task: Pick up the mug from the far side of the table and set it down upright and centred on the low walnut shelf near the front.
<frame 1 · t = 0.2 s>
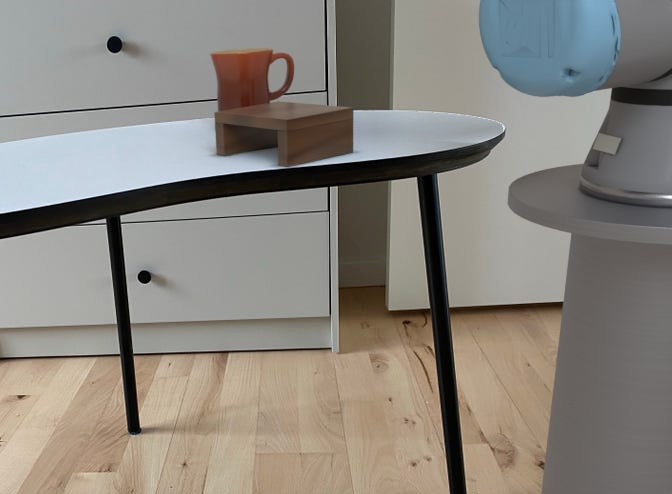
shelf: (283, 153, 98), on the table
mug: (255, 126, 120), on the table
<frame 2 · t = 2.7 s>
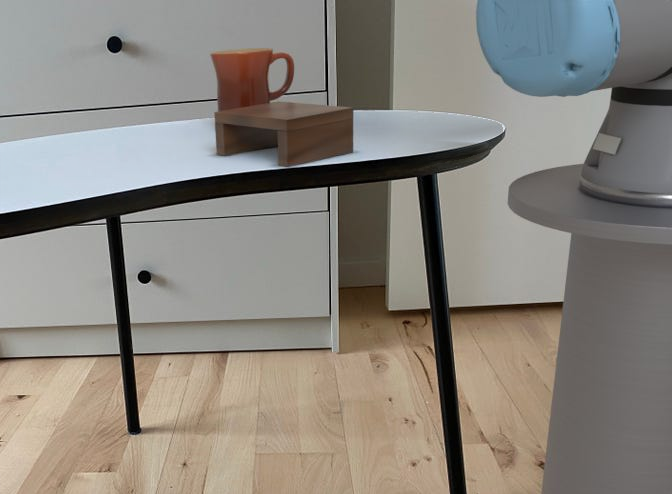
nothing on the table moved.
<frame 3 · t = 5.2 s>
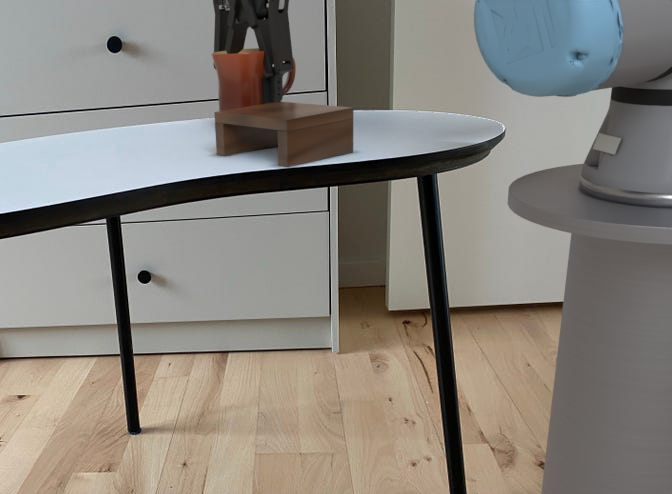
hand: (253, 122, 120), 0 cm above the table, tool pointing down, fingers closed on mug, 7 cm apart
mug: (256, 126, 120), on the table, touching gripper
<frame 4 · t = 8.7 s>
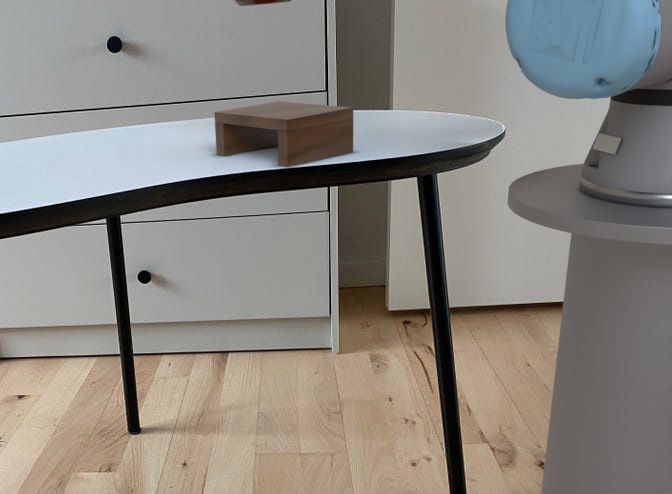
mug: (278, 4, 95), point 16 cm above the table, touching gripper
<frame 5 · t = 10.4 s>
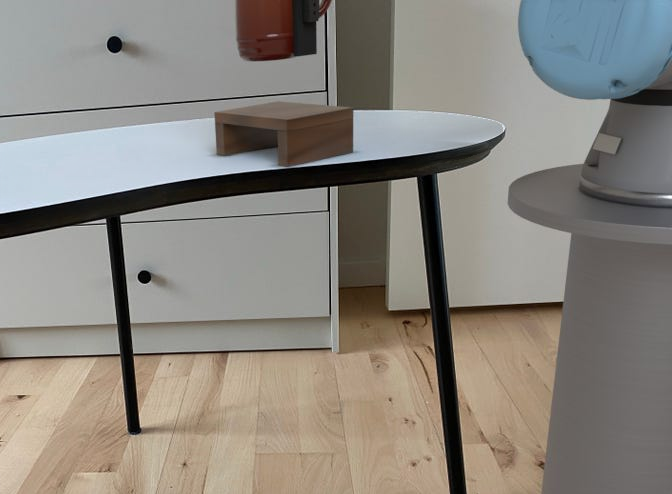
hand: (280, 54, 94), 11 cm above the table, tool pointing down, fingers closed on mug, 7 cm apart
mug: (284, 59, 93), point 11 cm above the table, touching gripper
when the fingers open (5 cm above the table, at t = 12.1 s): mug stays where it is, resting on shelf.
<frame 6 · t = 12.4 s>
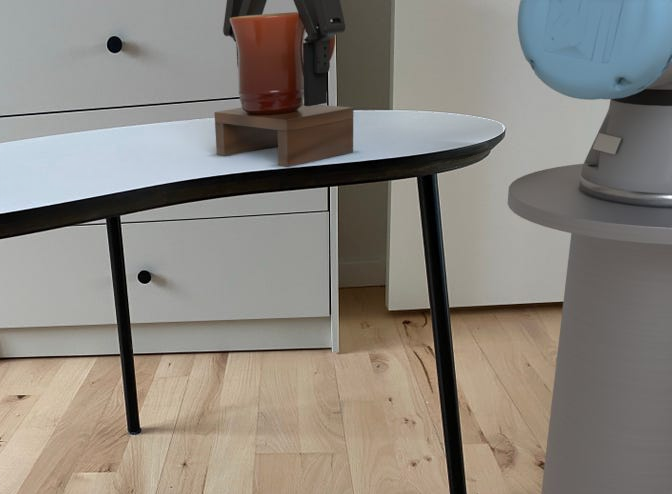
hand: (282, 101, 96), 6 cm above the table, tool pointing down, fingers open, 10 cm apart
mug: (285, 111, 96), point 5 cm above the table, touching shelf
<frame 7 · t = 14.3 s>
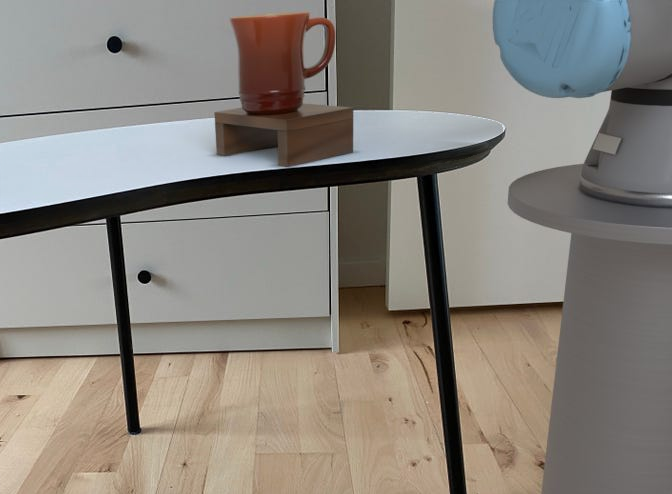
nothing on the table moved.
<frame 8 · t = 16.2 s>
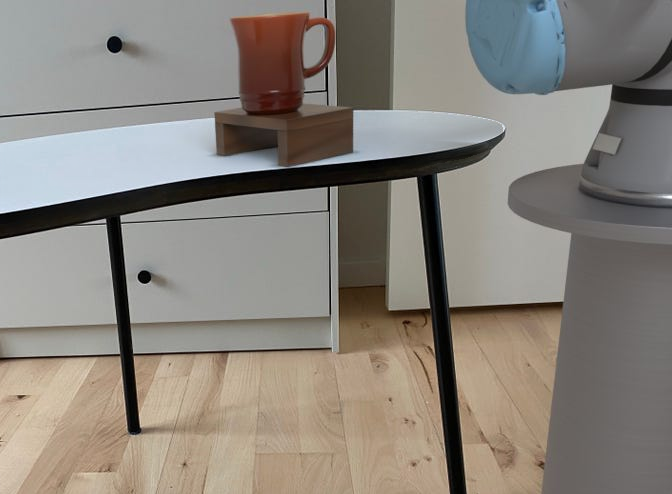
nothing on the table moved.
at the end: mug inside the target area on the shelf (0.6 cm from its centre), point 4.8 cm above the shelf's base; mug tilted 0° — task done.
